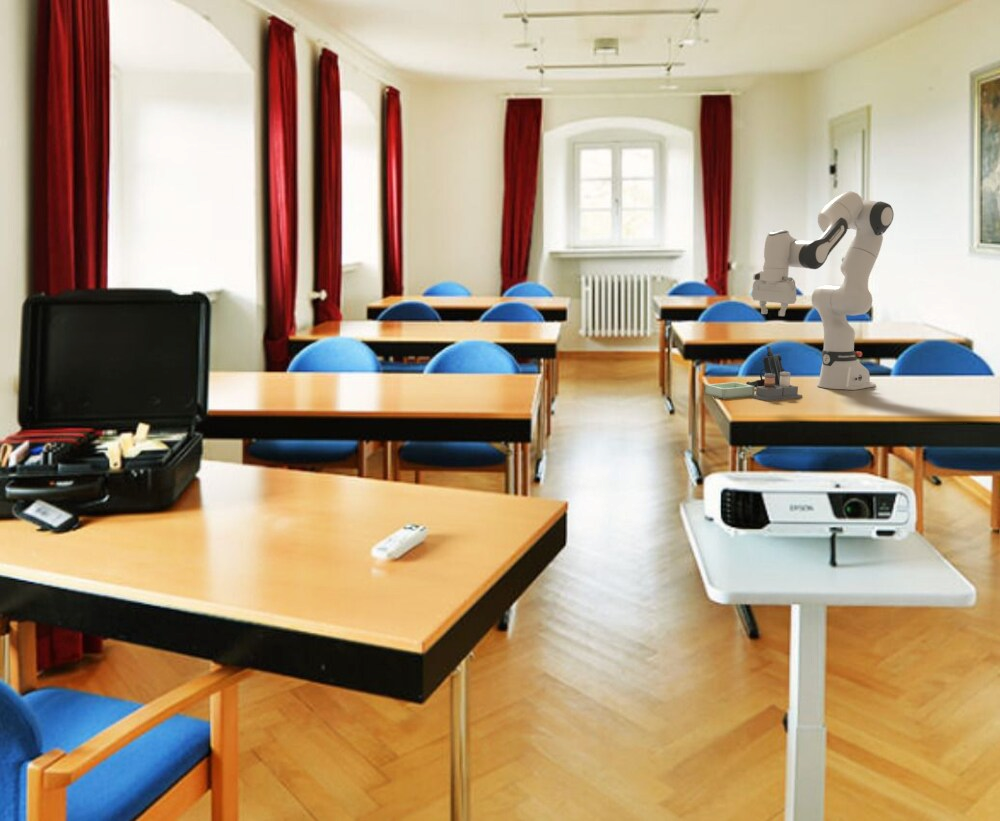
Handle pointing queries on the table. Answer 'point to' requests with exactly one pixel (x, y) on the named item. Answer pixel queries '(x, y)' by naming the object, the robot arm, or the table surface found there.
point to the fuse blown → (769, 380)
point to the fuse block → (776, 393)
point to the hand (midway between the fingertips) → (772, 314)
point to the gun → (770, 368)
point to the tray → (729, 390)
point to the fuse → (784, 379)
